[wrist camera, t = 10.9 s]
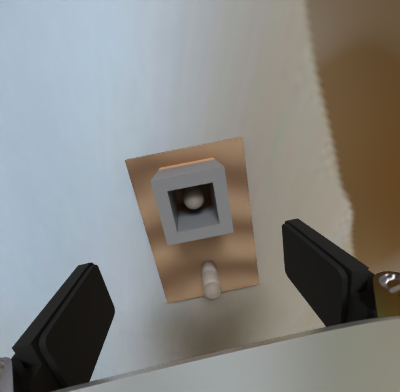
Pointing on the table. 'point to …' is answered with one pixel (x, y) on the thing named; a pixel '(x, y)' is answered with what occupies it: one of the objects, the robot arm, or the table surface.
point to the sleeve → (185, 217)
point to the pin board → (208, 247)
